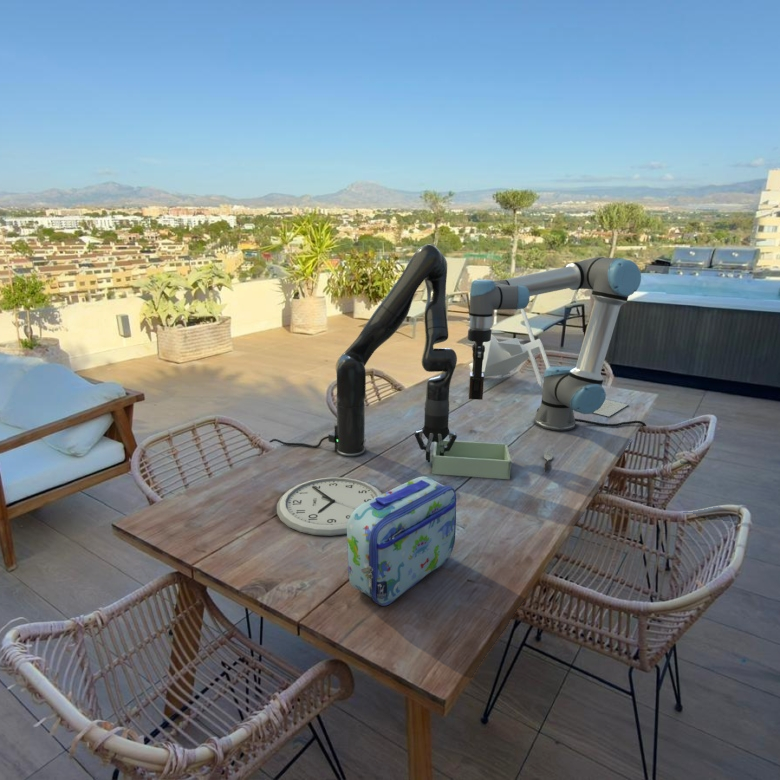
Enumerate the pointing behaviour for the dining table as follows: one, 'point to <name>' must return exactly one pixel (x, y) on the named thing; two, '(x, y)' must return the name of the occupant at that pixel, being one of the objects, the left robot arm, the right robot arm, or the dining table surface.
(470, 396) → the walnut block
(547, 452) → the fork
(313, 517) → the wall clock
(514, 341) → the white plastic object
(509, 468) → the tote
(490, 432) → the dining table surface
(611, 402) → the invitation card
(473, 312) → the right robot arm
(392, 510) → the lunch box
